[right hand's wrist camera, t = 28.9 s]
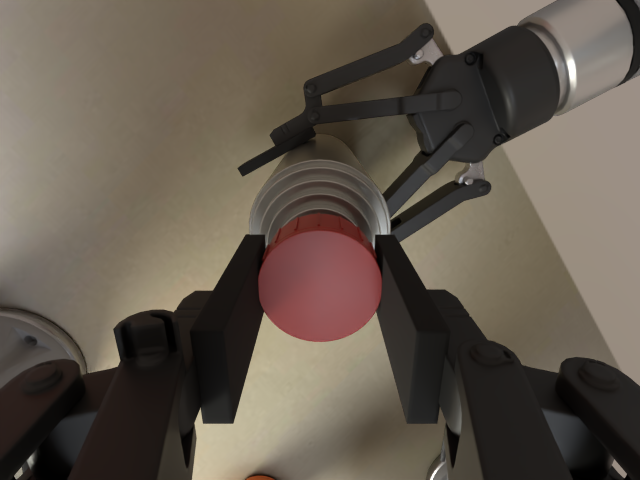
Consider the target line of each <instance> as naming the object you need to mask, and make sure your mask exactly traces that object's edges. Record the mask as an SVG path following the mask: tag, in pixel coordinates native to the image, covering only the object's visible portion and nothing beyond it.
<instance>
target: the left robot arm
mask: <svg viewBox="0 0 640 480" xmlns="http://www.w3.org/2000/svg"><path fill="white" fill-rule="evenodd" d="M433 35H434V30H433V27H432V26H431V25H430V24H428V23H425V24H422V25H420V26H419V27H418V28H417V29H415V30H414V31H413V32H412V33H411V34H410V35H408V36H407V37H406V38H405V39H404V40H403V41H402V42H401V43H399V44H397V45H395V46H392V47H390V48H387V49H385V50H382V51H380V52H377V53H375V54H372V55H370V56H367V57H365V58H362V59H360V60H357V61H355V62H352V63H350V64H347V65H345V66H342V67H340V68H337V69H335V70H332V71H330V72H327V73H325V74H322V75H320V76H317V77H315V78H312V79H310V80H308V81H306V82H305V84H304V95H305V102H306V107H305V110H304V112H303V113H302V114H301V115H299V116H297V117H295V118H294V119H292V120H290V121H288V122H286V123H285V124H283V125H281V126H279V127H278V128H276V129H274V130H273V131H272V133H271V134H270V137H271V139H272V140H273V142H274V144H275V146H274V147H272V148H271V149H269V150H267V151H265V152H263V153H262V154H260V155H258V156H256V157H254V158H253V159H251V160H249V161H247V162H245V163H244V164H242V165H241V166H240V167H238V170H239V171H240V173H241V175H242V176H245V175H247V174H248V173H250V172H252V171H254V170H256V169H257V168H259V167H261V166H263V165H265V164H266V163H268V162H270V161H272V160H274V159H276V158H277V157H279V156H281V155H283V154H285V153H286V152H288V151H290V150H292V149H294V148H296V147H297V146H299V145H301V144H303V143H305V142H306V141H308V140H310V139H312V138H314V137H315V136H316V133H315V131H314V129H313V126H315V125H316V124H323V123H331V122H340V121H348V120H357V119H366V118H374V117H383V116H391V115H401V114H408V115H407V118H408V120H409V122H410V124H411V126H412V127H413V128H414V129H415V131H416V133H417V140H418V144H419V146H420V148H421V151H420V152H419V153H418V154H417V155H416V156H415V158H414V160H413V162H412V163H411V164H410V165H409V166H408V167H407V168H406V169H405V170H404V172H403V173H402V174H401V175H400V176H399V177H398V178H397V179H396V180H395V181H394V182H393V183H392V184H391V186H390V187H389V188H388V189H387V190H386V191H385V192H384V193H383V194H382V195H383V197H384V199H385V201H386V204H387V206H388V210H389V214H390V218H391V217H392V216H393V215H394V214H395V213H396V212H397V211H398V210H399V209H400V208H401V206H402V205H403V204H404V203H405V202H406V201H407V200H408V199H409V198H410V197H411V196H412V195H413V194H414V193H415V192H416V191H417V190H418V189H419V188H420V187H421V186H422V185H423V184H424V182H425V181H426V180H427V179H428V178H429V177H430V176H432V175H434V174H436V173H437V172H438V171H439V170H440V169H441V168H442V167H443V166H444V165H445V164H446V163H447V162H448V161H449V160H451V161H458V162H465V163H466V165H465V168H464V169H463V170H462V171H460V172H459V173H457V175H456V176H455V180H454V181H451V182H449V183H447V184H445V185H443V186H442V187H440V188H439V189H437V190H436V191H434V192H433V193H431V194H430V195H428V196H427V197H425V198H424V199H422V200H420V201H419V202H417V203H416V204H414V205H413V206H411V207H410V208H408V209H407V210H405V211H404V212H402V213H401V214H399V215H398V216H396V217H395V218H393V219H392V220H390V221H391V233H390V234H394V235H395V236H396V238H397V240H398V242H401V241H402V240H404V239H405V238H407V237H408V236H410V235H412V234H413V233H415V232H416V231H418V230H419V229H421V228H422V227H424V226H426V225H427V224H429V223H430V222H432V221H433V220H435V219H436V218H438V217H440V216H441V215H443V214H444V213H446V212H447V211H449V210H450V209H452V208H454V207H455V206H457V205H458V204H460V203H461V202H463V201H465V200H469V199H473V198H477V197H480V196H484V195H487V194H488V193H489V192H490V190H491V184H490V183H489V182H488V181H485V179H484V171H483V163H482V161H483V160H484V159H485V158H486V157H487V156H488V154H489V153H490V152H491V151H492V150H493V149H494V148H495V147H497V146H499V145H501V144H503V143H505V142H508V141H510V140H512V139H514V138H515V137H518V136H519V135H521V134H524V133H526V132H527V131H529V130H531V129H533V128H535V127H537V126H539V125H541V124H543V123H545V122H547V121H549V120H550V119H551V118H552V117H553V116H559V115H562V114H564V113H566V112H568V111H570V110H572V109H574V108H576V107H578V106H580V105H581V104H583V103H585V102H587V101H589V100H591V99H593V98H595V97H597V96H599V95H601V94H603V93H605V92H606V91H608V90H610V89H612V88H614V87H617V86H619V85H621V84H623V83H625V82H626V81H629V80H630V79H633V78H635V77H637V76H639V75H640V0H557V1H555V2H553V3H551V4H549V5H548V6H546V7H544V8H542V9H540V10H538V11H537V12H535V13H533V14H531V15H529V16H528V17H526V18H524V19H523V20H521V21H520V22H519V24H518V25H517V26H510V27H508V28H506V29H504V30H502V31H501V32H499V33H497V34H495V35H493V36H491V37H490V38H488V39H486V40H484V41H482V42H481V43H479V44H477V45H475V46H473V47H472V48H470V49H468V50H466V51H464V52H463V53H460V54H458V55H443V54H442V52H441V51H440V49H439V47H438V46H437V44H436V43H435V41H434V40H433ZM405 60H406V61H407V62H408V63H409V64H410V65H417V64H419V63H426V64H427V65H428V66H429V67H428V69H427V71H426V73H425V75H424V77H423V78H422V80H421V82H420V84H419V86H418V88H417V90H416V91H415V93H414V95H413V96H406V97H397V98H389V99H381V100H372V101H364V102H355V103H347V104H338V105H330V106H322V100H321V95H323V94H325V93H328V92H330V91H333V90H335V89H338V88H340V87H343V86H346V85H348V84H351V83H353V82H356V81H358V80H361V79H363V78H366V77H368V76H371V75H374V74H376V73H379V72H381V71H384V70H386V69H389V68H391V67H394V66H396V65H398V64H400V63H402V62H403V61H405ZM440 457H441V454H440V455H439V456H438V457H437V458H436V459H435V461H434V462H433V463H432V465H431V466H430V468H429V471H428V473H427V479H426V480H448V472H447V464H446V457H445V462H442V461H440Z"/></svg>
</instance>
